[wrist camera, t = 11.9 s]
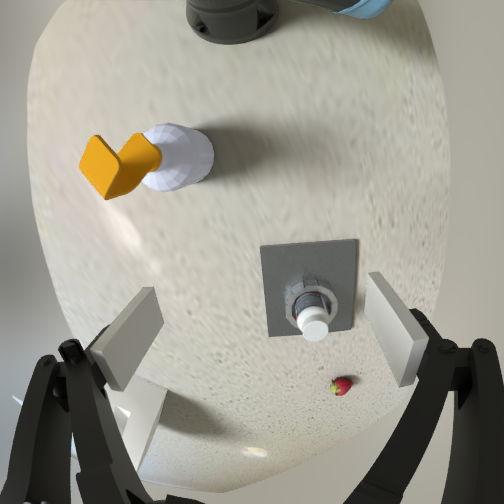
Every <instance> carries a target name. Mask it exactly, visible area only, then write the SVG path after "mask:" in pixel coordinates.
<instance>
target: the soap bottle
mask: <svg viewBox="0 0 504 504" xmlns="http://www.w3.org/2000/svg"><path fill="white" fill-rule="evenodd" d="M213 163H214V150H213V146H212V143H211V142H210V140H209V139H208V137H207V136H205V135H204V134H202V133H201V132H200V131H197V130H194V129H191V128H187V127H184V126H181V125H176V124H172V123H165V124H160V125H156V126H155V127H153V128H151V129H150V130H148V131H147V132H145V134H144V135H143V134H142V133H135V134H133V135H132V136H131V138H130V139H129V140H128V141H127V143H126V144H125V145H124V146H123V148H122V149H121V150H120V151H119V153H118V154H116V153H115V152H114V151H113V150H112V149H111V148H110V146H109V145H108V144H107V143H106V142H105V141H104V140H103V138H102V137H101V136H99V135H94V136H92V137H91V138H90V140H89V142H88V145H87V147H86V149H85V152H84V154H83V156H82V159H81V161H80V165H79V169H80V170H81V172H82V173H83V174H84V175H85V177H86V178H87V179H88V180H89V181H90V183H91V184H92V185H93V186H94V187H95V189H96V190H97V191H98V192H99V193H100V195H101V196H102V197H103V198H104V199H105V200H109V199H112V198H115V197H118V196H121V195H125V194H128V193H129V192H131V191H132V190H134V189H135V188H136V187H137V186H138V185H139V183H140V182H141V181H142V182H143V183H144V184H146V185H147V186H148V187H150V188H151V189H153V190H157V191H160V192H168V191H175V190H177V189H180V188H183V187H186V186H188V185H191V184H194V183H196V182H198V181H200V180H202V179H203V178H204V177H205V176H206V175H207V174H208V173H209V172H210V170H211V168H212V166H213Z"/></svg>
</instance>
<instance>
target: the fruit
mask: <svg viewBox="0 0 504 504" xmlns="http://www.w3.org/2000/svg"><path fill="white" fill-rule="evenodd" d="M352 384H353V381H351V380H348V379H342V378H337V379H335V380H334V381H333V380H332V382H331V385H330V389H331V393H332V394H335V395H336V396H337V395H338V396H341V395H344V394H346V393H347V392H348V390H349V389H350V388H351V386H352Z"/></svg>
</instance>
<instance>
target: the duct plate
mask: <svg viewBox="0 0 504 504" xmlns="http://www.w3.org/2000/svg"><path fill="white" fill-rule="evenodd" d="M260 254H261V264H262V274H263V284H264V294H265V304H266V314H267V324H268V334H269V337H275V336H291V335H303V332H302V331H301V330H300V329H299V327H298V325H297V319H296V311H295V300H296V298H297V297H298V296H300V295H302V294H303V293H305V292H310V291H317V292H319V293H320V294H321V295H322V297H323V299H324V302H325V305H326V308H327V312H328V314H329V324H328V329H329V331H328V332H336V331H345V330H351V324H352V313H353V301H354V285H355V264H356V240H355V239H347V240H333V241H320V242H306V243H293V244H280V245H267V246H260Z"/></svg>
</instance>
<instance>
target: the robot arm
mask: <svg viewBox="0 0 504 504" xmlns="http://www.w3.org/2000/svg"><path fill="white" fill-rule="evenodd" d="M288 1H293V2H298V3H303V4H308V5H312V6H316V7H320V8H324V9H328V10H330V11H331V12H333V13H336V14H345V15H348V16H352V17H355V18H359V19H370V18H374V17H376V16H378V15H379V14H381V13H382V12H383V11H384V10H385V9H386V8H387V7H388V6H389V5H390V4H391V2H392V1H393V0H288ZM186 16H187V20H188V23H189V25H190V26H191V28H192V29H193V30H194V32H195V33H196V34H197V35H198V36H200V37H201V38H203V39H205V40H207V41H209V42H213V43H217V44H239V43H244V42H247V41H250V40H253V39H255V38H257V37H259V36H261V35H263V34H264V33H265V32H267V31H268V30H269V29H270V28H271V27H272V26H273V24H274V23H275V21H276V19H277V16H278V0H187V6H186ZM364 313H365V315H366V317H367V319H368V321H369V323H370V325H371V327H372V329H373V331H374V334H375V336H376V338H377V340H378V342H379V344H380V346H381V348H382V350H383V353H384V355H385V357H386V359H387V361H388V364H389V366H390V368H391V370H392V373H393V375H394V377H395V379H396V382H397V384H398V387H403V386H407V385H411V384H413V383H414V381H415V378H416V375H417V377H418V379H419V382H418V384H417V386H416V389H415V391H414V393H413V395H412V397H411V399H410V402H409V403H408V405H407V408H406V410H405V411H404V413H403V415H402V417H401V419H400V421H399V423H398V425H397V427H396V428H395V430H394V432H393V434H392V435H391V437H390V439H389V440H388V442H387V444H386V446H385V447H384V449H383V450H382V452H381V453H380V455H379V456H378V458H377V460H376V461H375V463H374V464H373V466H372V467H371V468H370V470H369V471H368V473H367V474H366V476H365V477H364V478H363V480H362V481H361V482H360V483H359V484H358V486H357V487H356V488H355V489H354V491H353V492H352V493H351V495H350V496H349V497H348V498H347V499H346V501H345V502H344V503H343V504H400V502H401V500H402V498H403V493H404V491H405V489H406V487H407V486H408V484H409V482H410V480H411V479H412V477H413V475H414V473H415V471H416V469H417V467H418V465H419V463H420V461H421V459H422V457H423V455H424V453H425V451H426V448H427V447H428V444H429V442H430V440H431V438H432V435H433V433H434V430H435V428H436V425H437V423H438V420H439V417H440V415H441V412H442V409H443V406H444V403H445V400H446V397H447V394H448V391H454V421H453V435H452V436H453V437H452V445H451V454H450V461H449V468H448V474H447V480H446V484H445V489H444V494H443V498H442V502H441V504H504V384H503V379H502V374H501V369H500V364H499V360H498V356H497V352H496V348H495V346H494V344H493V343H492V342H491V341H489V340H487V339H483V338H481V339H476V340H475V341H474V342H473V344H472V347H471V348H458V346H457V344H456V343H454V342H453V341H451V340H449V339H442V337H441V336H440V335H439V333H438V332H437V331H436V329H435V328H434V327H433V325H432V324H431V323H430V321H429V320H427V318H426V316H425V315H424V314H423V313H422V312H421V311H419V310H417V309H416V308H414V309H408V308H407V307H406V305H405V304H404V303H403V301H402V300H401V299H400V297H399V296H398V295H397V294H396V292H395V291H394V290H393V288H392V287H391V286H390V285H389V283H388V282H387V281H386V280H385V278H384V277H383V276H382V275H381V273H380V272H371V273H367V286H366V298H365V308H364ZM163 324H164V320H163V317H162V314H161V310H160V307H159V304H158V300H157V297H156V293H155V289H154V287H143V288H142V289H141V291H140V292H139V293H138V294H137V295H136V296H135V297H134V298H133V299H132V301H131V302H130V303H129V304H128V305H127V306H126V307H125V308H124V310H123V311H122V312H121V313H120V314H119V315H118V316H117V318H116V319H115V320H114V321H113V322H112V323H111V324H109V325H108V326H106V327H105V328H103V329H102V330H101V332H100V333H99V334H98V335H97V336H96V337H95V340H93V341H92V342H91V343H90V344H89V346H88V347H87V348H86V349H85V350H83V348H82V346H81V344H80V342H79V340H77V339H69V340H67V341H65V342H63V343H62V344H61V345H60V346H59V348H58V351H59V352H60V354H61V356H62V358H63V360H64V362H57V360H56V358H55V356H54V355H45V356H43V357H41V359H39V361H38V362H37V364H36V367H35V369H34V372H33V375H32V378H31V381H30V383H29V386H28V389H27V392H26V395H25V398H24V402H23V405H22V409H21V412H20V415H19V419H18V423H17V427H16V431H15V435H14V440H13V445H12V450H11V455H10V461H9V468H8V475H7V480H6V482H5V484H4V487H3V490H2V492H1V494H0V504H71V491H70V460H71V459H70V458H71V441H72V432H73V437H74V443H75V447H76V452H77V456H78V461H79V465H80V468H81V472H80V473H77V474H76V481H77V484H78V487H79V491H80V494H81V498H82V501H83V504H205V503H202V502H199V501H197V500H193V499H188V498H182V497H177V496H172V495H168V494H167V497H166V500H157V501H153V500H152V498H151V497H150V496H149V495H148V493H147V492H146V491H145V489H144V487H143V485H142V483H141V481H140V479H139V477H138V474H137V472H136V470H135V468H134V466H133V463H132V461H131V459H130V457H129V454H128V452H127V449H126V447H125V444H124V442H123V439H122V437H121V434H120V431H119V429H118V426H117V423H116V420H115V417H114V414H113V411H112V408H111V405H110V401H109V398H108V395H107V391H106V390H105V388H104V386H105V384H106V383H108V385H109V387H110V388H111V390H113V391H118V392H124V390H125V388H126V387H127V385H128V383H129V381H130V380H131V378H132V376H133V374H134V373H135V371H136V369H137V368H138V366H139V364H140V362H141V361H142V359H143V357H144V356H145V354H146V352H147V351H148V349H149V347H150V346H151V344H152V342H153V341H154V339H155V337H156V336H157V334H158V332H159V331H160V329H161V327H162V326H163Z"/></svg>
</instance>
